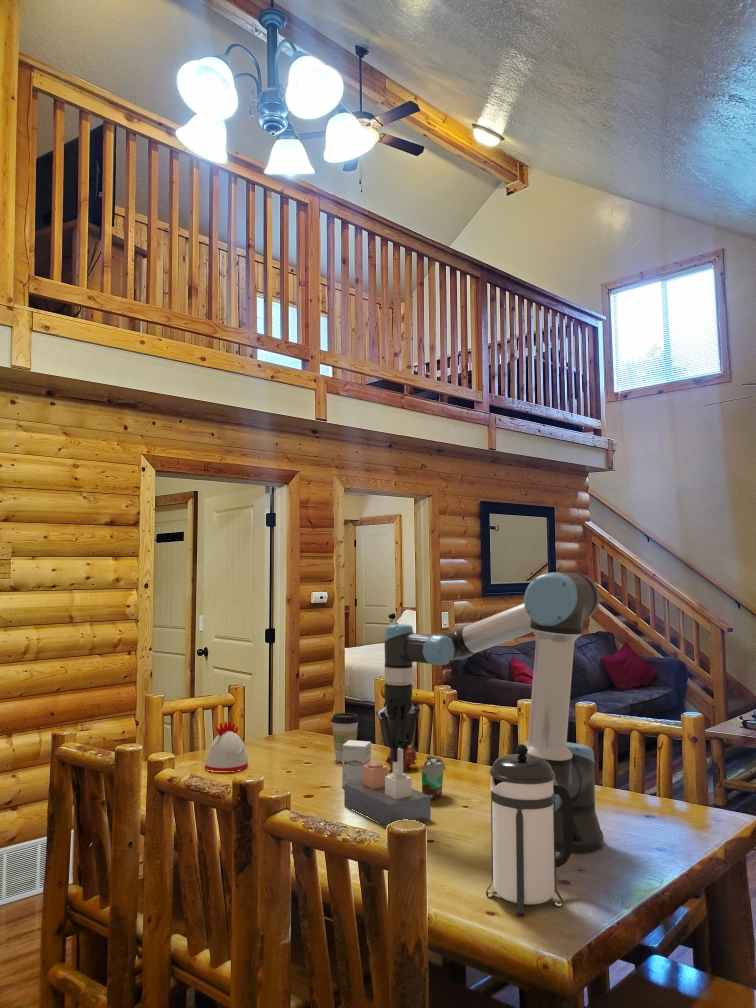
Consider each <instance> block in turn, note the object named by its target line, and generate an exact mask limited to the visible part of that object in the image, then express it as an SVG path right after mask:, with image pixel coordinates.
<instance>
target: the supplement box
mask: <svg viewBox="0 0 756 1008" xmlns="http://www.w3.org/2000/svg"><path fill="white" fill-rule="evenodd" d="M371 749H372V741H368V740H367V741H366V740H356V741H354V740H348V741H347V742H346V743H345V744H344V745H343V762H342V764H341V765H342V767H341V768H342V769H341V770H342V771H341V772H342V773H341V774H342V776H341V778H342V779H341V788H344V786H345V784H346V783H351V782H357V781H362V780H363V765H367V763H370V762H372V761H371V759H372V757H371V754H372V750H371Z"/></svg>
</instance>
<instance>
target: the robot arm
mask: <svg viewBox="0 0 756 1008" xmlns="http://www.w3.org/2000/svg"><path fill="white" fill-rule="evenodd" d="M524 592H525V593H524V595H523V597H524V598H523V603H521V604H518V605H516V606H514V607H511V608H509V609H506V610H503V611H501V612H498V613H496V614H493V615H490V616H488V617H486V618H483V619H481V620H478V621H476V622H473V623H471V624H468V625H466V626H464V627H461V628H458V629H455V630H453V631H448V632H439V633H415V632H414V630H413V626H412V625H410V624H405V623H404V624H403V623H402V624H399V623H398V624H388V625H387V626H386V627H385V629H384V632H385V633H384V640H383V644H384V682H385V684H384V685H383V687H384V688H383V689H384V690H383V691H384V692H383V696H384V699H385V701H384V703H383V708H382V709H380V710H376V714H375V715H376V717H377V718H378V720H379V725H380V730H381V734H382V741H383V746H384V747H386V748H389V749H390V750H391V761H393V770H392V773H394V774H397V775H403V773H404V770H403V760H405V749H407V748H408V747H409V746H411V745H412V743H413V738H414V733H415V732H414V731H415V727H416V722H417V717H418V716H419V713H420V712H421V711H420V707H416V706H415V705H414V704H413V701H412V698H413V684H412V682H413V663H419V664H429V665H433V666H441V665H442V666H444V665H448V664H449V663H450V661H454V660H464V659H468V658H469V657H470V658H471V657H472V656H473V655H474V654H476V653H479V652H481V651H485V650H487V649H490V648H493V647H495V646H498V645H500V644H503V643H506V642H509V641H511V640H514V639H517V638H519V637H522V636H525V635H528V634H530V633H533V635H534V636H535V647H534V649H535V650H534V659H533V661H534V662H533V671H532V672H533V676H532V685H531V687H532V688H531V696H530V697H531V699H530V711H529V724H528V733H527V735H528V736H527V740H526V741H525V742H523V743H522V744H523V745H525V746H526V747H527V750H528V751H527V754H526V755H532V756H536V757H540V758H542V759H544V760H546V761H547V762H548V763H549V764H550V765H551V767H552V770H553V771H554V772H555V779H554V781H553V785H559V786H562V787H564V788H565V789H566V790H567V791H568V793H569V795H570V797H571V802H572V816H573V847H572V852H571V854H588V852H590V853H594V852H593V851H595V852H597V851H596V850H598V851H600V850H602V849H603V848H604V846H603V845H605V842H604V841H605V840H604V833H603V831H602V830H601V826H600V822H599V819H598V815H597V812H596V783H595V781H596V779H595V777H596V775H595V774H596V773H595V764H596V761H595V755H594V750H593V748H591V746H589V745H585V744H580V743H577V742H576V743H575V742H568V741H567V740H568V727H569V718H570V717H569V715H570V703H571V690H572V688H571V687H572V677H573V675H572V674H573V667H574V666H573V663H574V662H573V661H574V652H575V650H574V649H575V642H576V640H577V639H578V638H579V637H581V636H582V635H583V624H584V621H586V620H588V619H589V618H591V617H592V616H593V615H594V614H595V613H596V611H597V609H598V607H599V603H600V592H599V588H598V586H597V585H596V584H595V581H593V580H592V579H591V578H590V577H589V576H587V575H584V574H582V573H578V572H560V571H559V572H558V571H557V572H553V571H552V572H547V573H544V574H540V575H539V576H536V577H535V578H533V580H532V581H530V583H529V584H528V585H527V588H526V590H525V591H524ZM555 839H556V851H559V852H561V851H562V848H563V805H562V800H561V797H560V796H559V795H558V794H555ZM602 847H603V848H602ZM601 848H602V849H601ZM599 849H600V850H599ZM554 851H555V845H554Z"/></svg>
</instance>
